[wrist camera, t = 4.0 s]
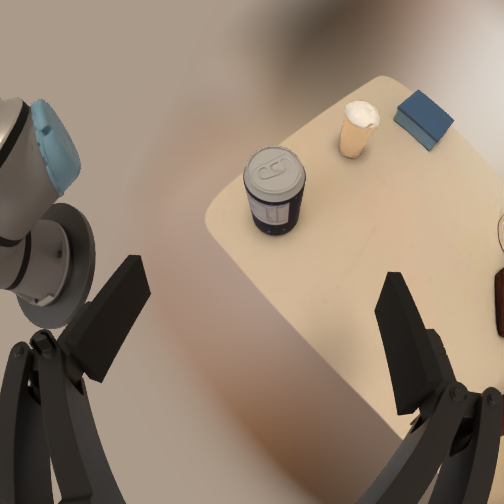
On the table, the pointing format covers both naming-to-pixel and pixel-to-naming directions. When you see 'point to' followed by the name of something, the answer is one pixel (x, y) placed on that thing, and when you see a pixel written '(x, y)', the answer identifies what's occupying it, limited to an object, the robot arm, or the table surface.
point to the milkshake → (357, 127)
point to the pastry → (499, 301)
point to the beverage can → (274, 188)
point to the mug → (501, 232)
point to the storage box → (423, 119)
